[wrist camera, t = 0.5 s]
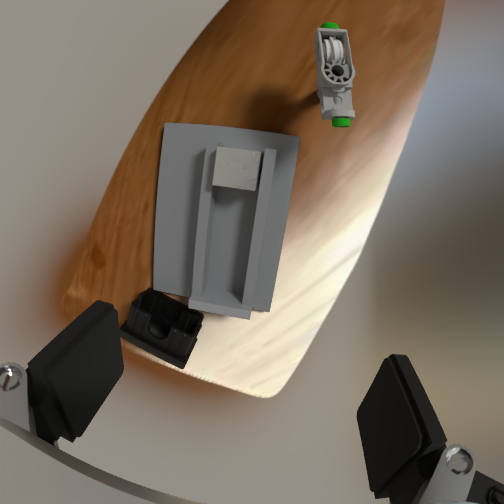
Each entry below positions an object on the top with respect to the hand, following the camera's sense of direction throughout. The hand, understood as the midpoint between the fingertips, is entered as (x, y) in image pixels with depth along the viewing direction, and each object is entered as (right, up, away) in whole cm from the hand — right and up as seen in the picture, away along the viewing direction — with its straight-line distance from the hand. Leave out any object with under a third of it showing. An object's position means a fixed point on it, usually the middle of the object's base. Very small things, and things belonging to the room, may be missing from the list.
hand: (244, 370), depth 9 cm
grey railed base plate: (-4, +8, +26) cm, 28 cm away
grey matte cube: (-1, +13, +23) cm, 27 cm away
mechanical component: (+9, +22, +21) cm, 32 cm away
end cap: (-12, -6, +32) cm, 35 cm away
